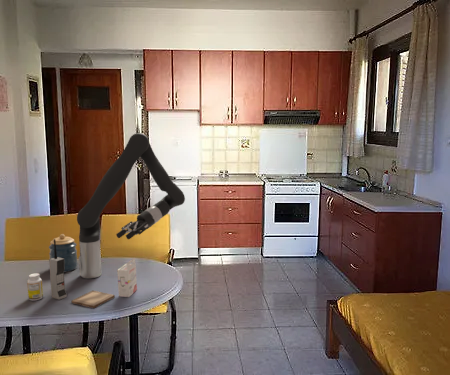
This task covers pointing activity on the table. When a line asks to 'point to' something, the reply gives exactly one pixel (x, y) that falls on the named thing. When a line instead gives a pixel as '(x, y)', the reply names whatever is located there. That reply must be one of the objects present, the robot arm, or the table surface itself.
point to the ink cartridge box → (127, 279)
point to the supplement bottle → (35, 287)
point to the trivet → (93, 299)
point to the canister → (65, 251)
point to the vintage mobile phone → (57, 276)
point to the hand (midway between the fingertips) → (122, 237)
